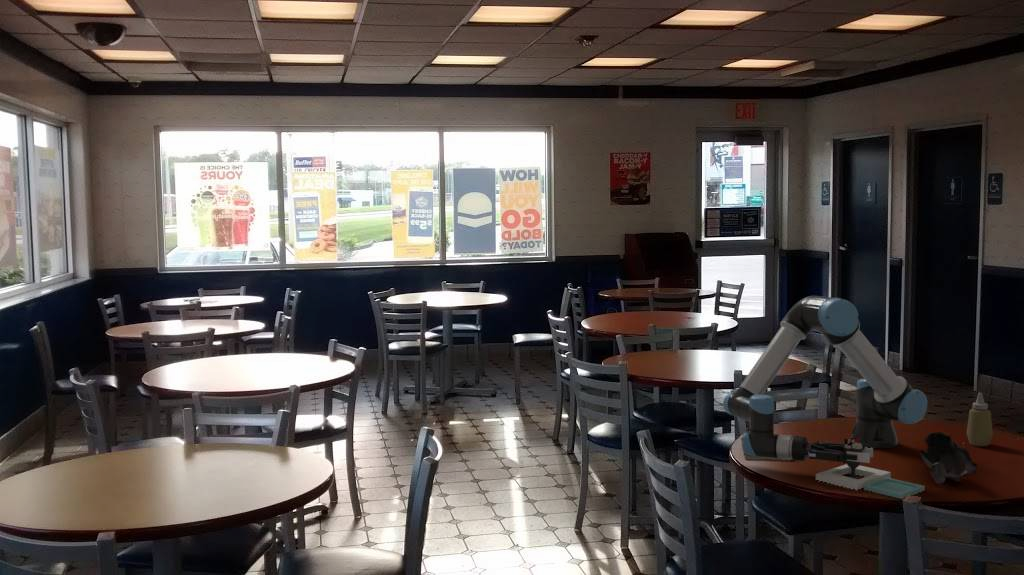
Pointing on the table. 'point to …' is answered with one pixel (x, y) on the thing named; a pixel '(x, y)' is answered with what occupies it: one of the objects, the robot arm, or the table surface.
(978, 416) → the squeeze bottle
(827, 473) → the board
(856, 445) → the sundae
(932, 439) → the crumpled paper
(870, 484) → the tray
